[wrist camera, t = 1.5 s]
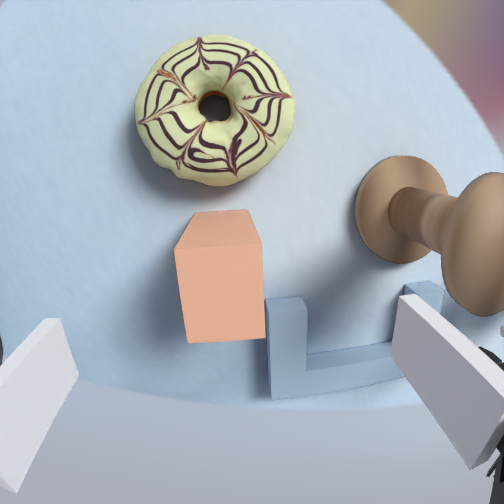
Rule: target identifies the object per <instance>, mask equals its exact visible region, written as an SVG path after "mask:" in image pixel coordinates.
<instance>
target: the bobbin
mask: <svg viewBox="0 0 504 504" xmlns="http://www.w3.org/2000/svg"><path fill="white" fill-rule="evenodd" d="M354 212H355V222H356V226H357V230H358V232H359V234H360V237H361V238H362V240H363V242H364V243H365V244H366V246H367V247H368V248H369V249H370V250H371V251H373V252H374V253H375V254H377V255H378V256H380V257H381V258H383V259H385V260H387V261H389V262H392V263H398V264H404V263H410V262H414V261H416V260H418V259H420V258H422V257H424V256H425V255H427V254H428V253H429V252H430V251H431V250H433V251H435V252H437V253H439V254H441V269H442V276H443V280H444V284H445V286H446V289H447V291H448V293H449V294H450V296H451V297H452V298H453V300H454V301H455V302H457V303H458V304H459V305H461V306H462V307H463V308H465V309H466V310H467V311H469V312H470V313H472V314H474V315H476V316H480V317H487V316H492V315H494V314H497V313H499V312H500V311H502V310H504V173H497V172H490V173H485V174H483V175H481V176H479V177H477V178H476V179H474V180H473V181H472V182H471V183H470V184H468V185H467V187H466V188H465V189H464V190H463V191H462V193H461V194H460V196H459V197H458V198H457V197H453V196H449V195H448V193H447V189H446V186H445V183H444V181H443V179H442V177H441V176H440V174H439V173H438V172H437V170H436V169H435V168H434V167H433V166H432V165H431V164H429V163H428V162H426V161H424V160H422V159H420V158H417V157H412V156H393V157H389V158H386V159H384V160H382V161H380V162H378V163H377V164H376V165H374V166H373V167H372V168H371V169H370V170H369V171H368V173H367V174H366V175H365V177H364V178H363V180H362V182H361V184H360V186H359V188H358V191H357V195H356V200H355V209H354Z"/></svg>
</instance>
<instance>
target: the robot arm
mask: <svg viewBox="0 0 504 504" xmlns="http://www.w3.org/2000/svg"><path fill="white" fill-rule="evenodd" d="M2 357H3V352H2V344H1V339H0V487H2V488H5V489H7V490H10V491H12V492H15V493H17V492H18V490H19V488H20V486H21V483H22V481H23V479H24V477H25V475H26V473H27V471H28V469H29V467H30V465H31V463H32V461H33V459H34V457H35V455H36V453H37V451H38V449H39V447H40V445H41V443H42V441H43V439H44V437H45V435H46V434H47V432H48V430H49V428H50V426H51V424H52V422H53V420H54V419H55V417H56V415H57V413H58V412H59V410H60V408H61V406H62V404H63V402H64V401H65V399H66V397H67V396H68V394H69V392H70V390H71V388H72V387H73V385H74V384H75V382H76V380H77V378H78V377H79V375H80V374H79V372H78V369H77V367H76V364H75V361H74V359H73V356H72V353H71V350H70V347H69V344H68V341H67V338H66V335H65V332H64V329H63V326H62V323H61V319H60V318H45V319H44V320H43V321H42V322H41V323H40V324H39V325H38V326H37V327H36V328H35V329H34V330H33V331H32V333H31V334H30V335H29V336H28V337H27V338H26V339H25V340H24V341H23V342H22V343H21V344H20V345H19V346H18V347H17V348H16V349H15V351H14V352H13V353H12V354H11V355H10V356H9V357H8V358H7V359H6V361H5V362H4V363H3V364H2ZM390 357H391V358H392V359H393V361H394V362H395V363H396V365H397V366H398V367H399V369H400V370H401V372H402V373H403V374H404V376H405V377H406V378H407V380H408V381H409V383H410V384H411V385H412V387H413V388H414V389H415V391H416V392H417V394H418V395H419V396H420V398H421V399H422V401H423V402H424V404H425V405H426V406H427V408H428V409H429V411H430V412H431V413H432V415H433V416H434V418H435V419H436V421H437V422H438V423H439V425H440V426H441V428H442V429H443V431H444V432H445V434H446V435H447V437H448V438H449V439H450V441H451V442H452V444H453V446H454V447H455V449H456V450H457V451H458V453H459V454H460V456H461V458H462V459H463V461H464V462H465V464H466V465H467V467H468V468H469V470H471V469H473V468H475V467H477V466H478V465H480V464H482V463H484V462H486V461H488V459H489V458H490V456H491V455H492V453H493V452H494V450H495V449H496V448H497V449H498V450H499V452H500V453H501V454H500V455H499V457H498V458H497V459H496V461H495V462H494V464H493V466H492V467H491V468H490V469H489V471H488V473H487V476H488V477H489V476H490V475H491V473H492V472H493V471H494V469H495V468H496V470H495V475H494V476H493V477H494V482H493V488H492V494H491V499H490V503H489V504H504V363H502V360H500V359H499V358H498V357H497V356H496V355H495V354H494V353H492V352H490V351H488V350H486V349H484V348H482V347H477V346H476V345H475V344H474V343H472V342H471V341H470V340H469V339H468V338H467V337H466V336H465V335H463V334H462V333H461V332H460V331H459V330H458V329H457V328H455V327H454V326H453V325H452V324H451V323H450V322H448V321H447V320H446V319H445V318H444V317H443V316H441V315H440V314H439V313H438V312H437V311H435V310H434V309H433V308H432V307H431V306H429V305H428V304H427V303H426V302H425V301H423V300H422V299H421V298H420V297H419V296H417V295H416V294H409V295H403V296H399V299H398V307H397V314H396V321H395V327H394V333H393V339H392V345H391V350H390ZM1 364H2V365H1Z"/></svg>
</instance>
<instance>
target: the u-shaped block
mask: <svg viewBox="0 0 504 504" xmlns="http://www.w3.org/2000/svg"><path fill="white" fill-rule="evenodd" d="M409 294H416V295H417V296H419V297H420V298H421V299H422V300H423V301H425V302H426V303H427V304H428V305H429V306H431V307H432V308H433V309H434V310H435V311H437V312H438V313H439V314H440V312H441V307H442V302H443V296H444V290H443V289H442V288H440V287H439V286H437V285H436V284H434V283H433V282H431V281H425V282H418V283H410V284H405V289H404V295H409ZM265 306H266V332H267V358H268V384H269V389H270V394H271V400H278V399H287V398H295V397H302V396H309V395H316V394H323V393H329V392H335V391H340V390H346V389H351V388H356V387H361V386H366V385H371V384H376V383H380V382H385V381H389V380H393V379H397V378H401V377H405V376H404V374H403V373H402V372H401V370H400V369H399V367H398V366H397V365H396V363H395V362H394V361H393V359H392V358H391V357H390V350H391V345H392V341H387V342H382V343H377V344H371V345H365V346H359V347H353V348H347V349H341V350H334V351H327V352H320V353H313V354H307V326H308V309H307V307H306V305H305V303H304V301H303V299H302V297H301V296H298V297H287V298H276V299H265Z"/></svg>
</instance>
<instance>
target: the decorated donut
mask: <svg viewBox="0 0 504 504" xmlns="http://www.w3.org/2000/svg"><path fill="white" fill-rule="evenodd" d="M210 95H213V96H214V95H216V96H217V95H219V96H223V97H226V98H227V99H228V100H229V104H230V107H231V115H230V116H229V118H228V119H227V120H225V121H212V122H208V121H207V119H206V118H205V117H204V116H203V115H201V114H200V111H199V109H198V107H199V105H200V102H201V101H202V100H203V99H205V98H206V97H208V96H210ZM134 109H135V118H136V126H137V129H138V132H139V134H140V136H141V138H142V141H143V143H144V144H145V145H146V147H147V148H148V150H149V151H150V153H151V157H152V159H153V160H154V161H155V162H156V163H157V164H158V165H159V166H161V167H165V168H167V169H170V170H171V171H173V172H174V174H175V175H176V176H177V177H179V178H182V179H190V180H195V181H198V182H201V183H204V184H206V185H210V186H226V185H232V184H234V183H236V182H239V181H241V180H243V179H245V178H247V177H249V176H252V175H254V174H255V173H257V171H258V170H260V169H262V168H263V167H264V166H265V165H267V164H268V163H269V162H270V161H271V160H272V159H273V158H275V157H276V155H277V154H278V152H279V151H280V150H281V148H282V147H283V146H284V145H285V143H286V141H287V140H288V138H289V136H290V133H291V131H292V127H293V119H294V113H295V102H294V98H293V95H292V93H291V89H290V86H289V83H288V81H287V80H286V78H285V76H284V74H283V73H282V72H281V71H280V69H279V68H278V66H277V65H276V64H275V63H274V62H273V61H272V59H271V58H270V57H269V56H267V55H266V54H265V53H264V52H263V51H261V50H260V49H258V48H256V47H254V46H252V45H251V44H249V43H247V42H245V41H243V40H241V39H237V38H233V37H230V36H227V35H209V36H203V37H195V38H191V39H189V40H186V41H183V42H179V43H178V44H176V45H174V46H173V47H172V48H171V49H169V50H168V51H167V52H165V53H164V54H163V55H162V56H161V57H160V58H159V59H158V60H157V61H156V63H155V64H154V66H153V67H152V68H151V70H150V72H149V73H148V75H147V77H146V78H145V80H144V81H143V82H142V84H141V86H140V88H139V90H138V93H137V96H136V100H135V105H134Z"/></svg>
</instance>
